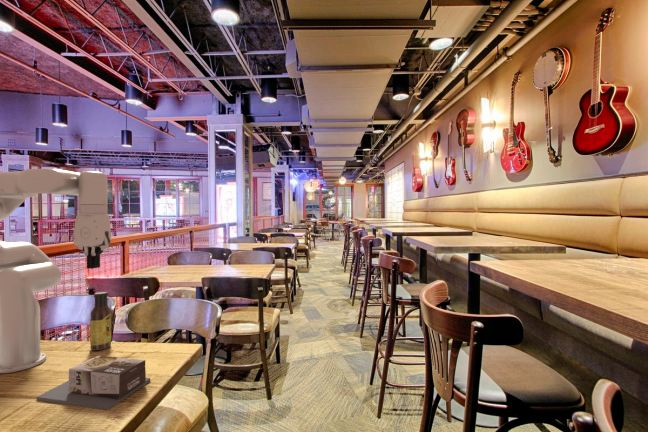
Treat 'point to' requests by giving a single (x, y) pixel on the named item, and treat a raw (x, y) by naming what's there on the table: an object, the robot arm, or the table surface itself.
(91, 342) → the sauce bottle
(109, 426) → the table surface
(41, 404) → the table surface
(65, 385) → the rubber mat
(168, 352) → the table surface
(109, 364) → the coffee box
